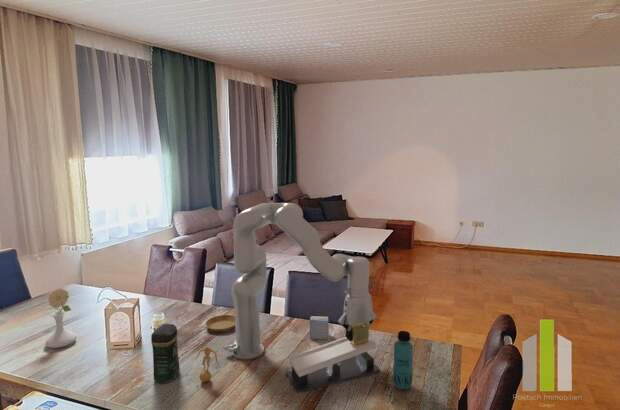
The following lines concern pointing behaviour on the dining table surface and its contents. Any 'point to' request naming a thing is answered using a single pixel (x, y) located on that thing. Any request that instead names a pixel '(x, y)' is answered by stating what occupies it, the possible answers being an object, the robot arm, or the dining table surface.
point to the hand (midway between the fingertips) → (357, 337)
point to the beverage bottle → (403, 361)
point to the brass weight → (360, 333)
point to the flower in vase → (59, 320)
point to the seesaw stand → (334, 373)
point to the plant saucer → (221, 323)
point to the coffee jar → (165, 353)
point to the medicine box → (319, 327)
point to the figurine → (206, 374)
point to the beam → (327, 355)
